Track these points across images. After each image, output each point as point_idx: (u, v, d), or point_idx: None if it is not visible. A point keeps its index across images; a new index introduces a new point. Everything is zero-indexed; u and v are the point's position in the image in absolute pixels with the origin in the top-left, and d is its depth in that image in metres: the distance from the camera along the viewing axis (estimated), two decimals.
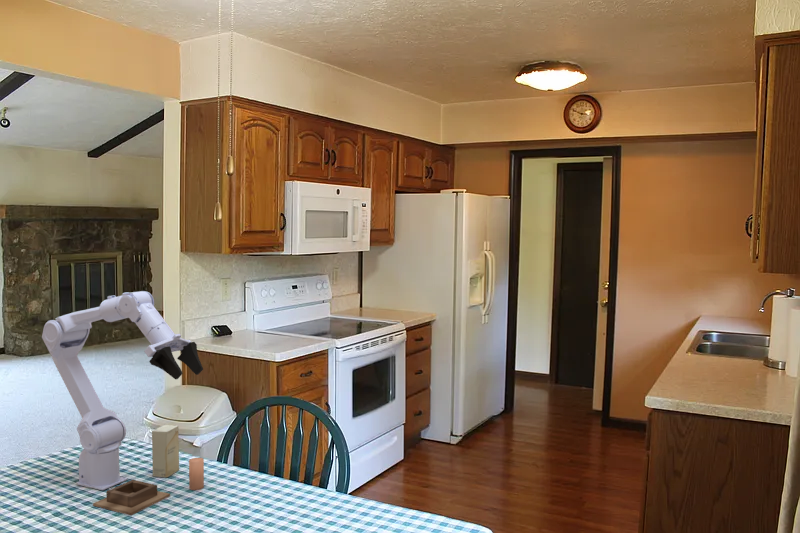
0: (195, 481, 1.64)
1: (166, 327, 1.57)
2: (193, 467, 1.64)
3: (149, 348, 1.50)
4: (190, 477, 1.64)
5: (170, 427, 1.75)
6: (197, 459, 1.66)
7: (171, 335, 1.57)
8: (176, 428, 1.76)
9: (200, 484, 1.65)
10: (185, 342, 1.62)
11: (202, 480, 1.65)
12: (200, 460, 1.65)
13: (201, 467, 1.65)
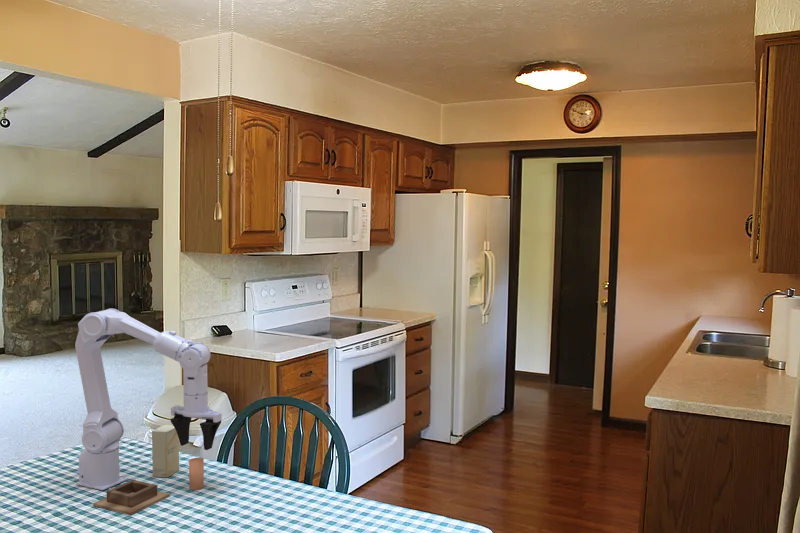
0: (195, 481, 1.64)
1: None
2: (193, 467, 1.64)
3: (220, 415, 1.62)
4: (190, 477, 1.64)
5: (170, 427, 1.75)
6: (197, 459, 1.66)
7: None
8: None
9: (200, 484, 1.65)
10: None
11: (202, 480, 1.65)
12: (200, 460, 1.65)
13: (201, 467, 1.65)
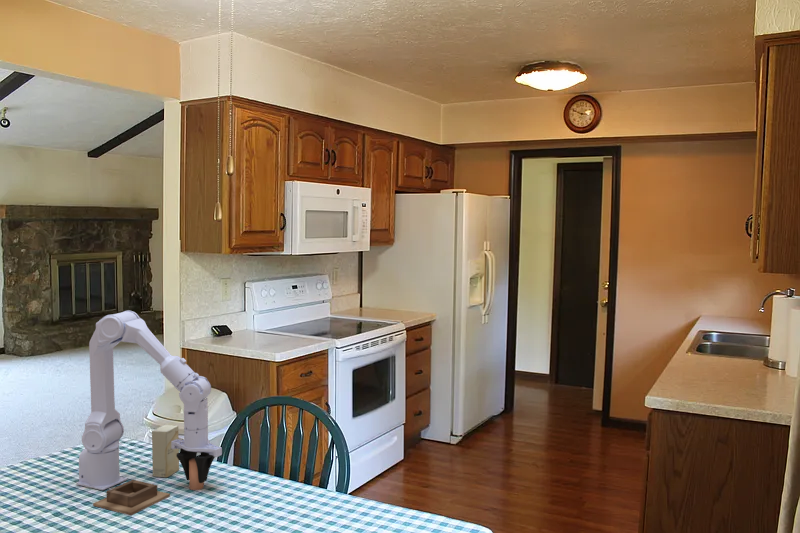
0: (195, 481, 1.64)
1: None
2: (193, 467, 1.64)
3: (221, 450, 1.63)
4: (190, 477, 1.64)
5: (170, 427, 1.75)
6: None
7: None
8: (176, 428, 1.76)
9: (200, 484, 1.65)
10: None
11: None
12: None
13: None
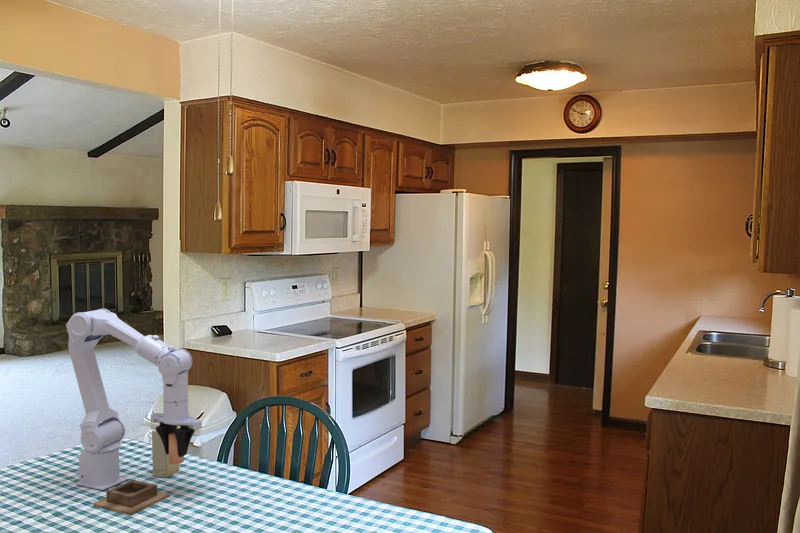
0: (175, 454, 1.61)
1: None
2: (173, 441, 1.61)
3: (201, 423, 1.60)
4: (170, 451, 1.61)
5: None
6: None
7: None
8: None
9: (180, 458, 1.62)
10: None
11: None
12: None
13: None
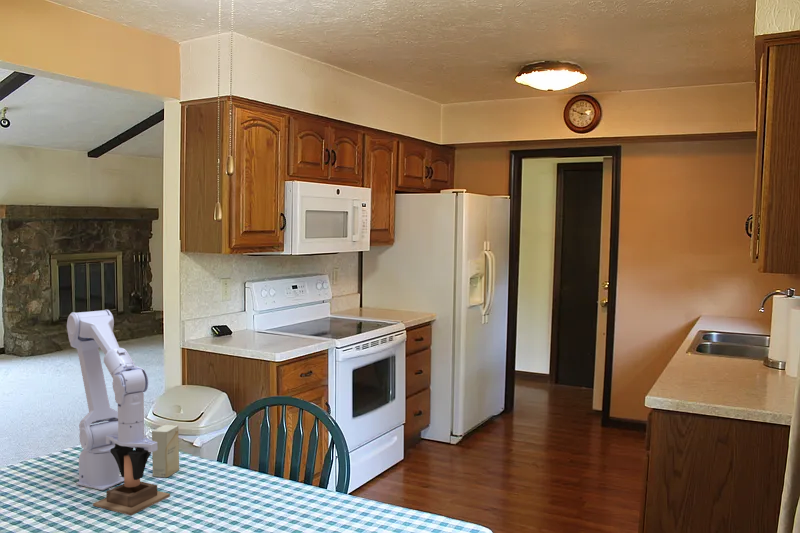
0: (130, 477, 1.55)
1: None
2: (128, 463, 1.55)
3: (156, 445, 1.54)
4: (125, 473, 1.56)
5: (170, 427, 1.75)
6: None
7: None
8: (176, 428, 1.76)
9: (135, 481, 1.56)
10: None
11: None
12: None
13: None
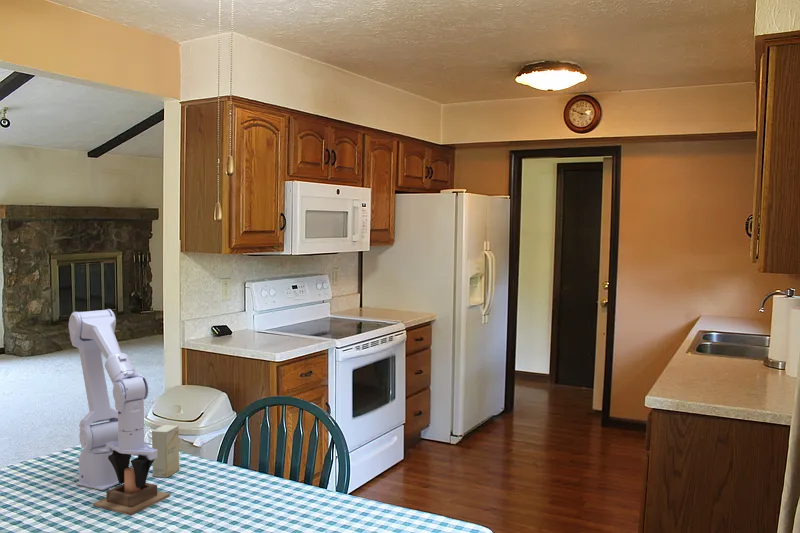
0: (130, 491, 1.56)
1: None
2: (128, 476, 1.55)
3: (156, 452, 1.54)
4: (125, 487, 1.56)
5: (170, 427, 1.75)
6: None
7: None
8: (176, 428, 1.76)
9: None
10: None
11: (138, 490, 1.57)
12: None
13: None
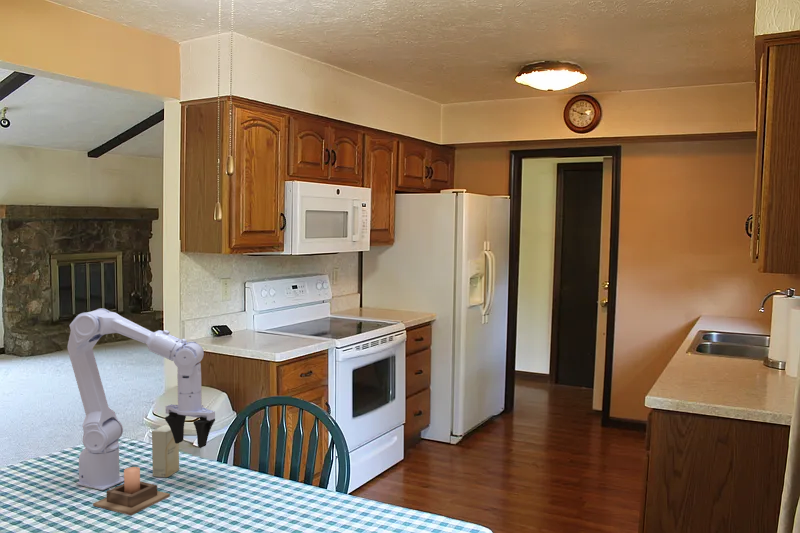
0: (130, 491, 1.56)
1: None
2: (128, 477, 1.55)
3: (214, 414, 1.64)
4: (125, 487, 1.56)
5: None
6: (133, 469, 1.57)
7: None
8: None
9: None
10: None
11: None
12: (136, 470, 1.57)
13: (137, 477, 1.56)
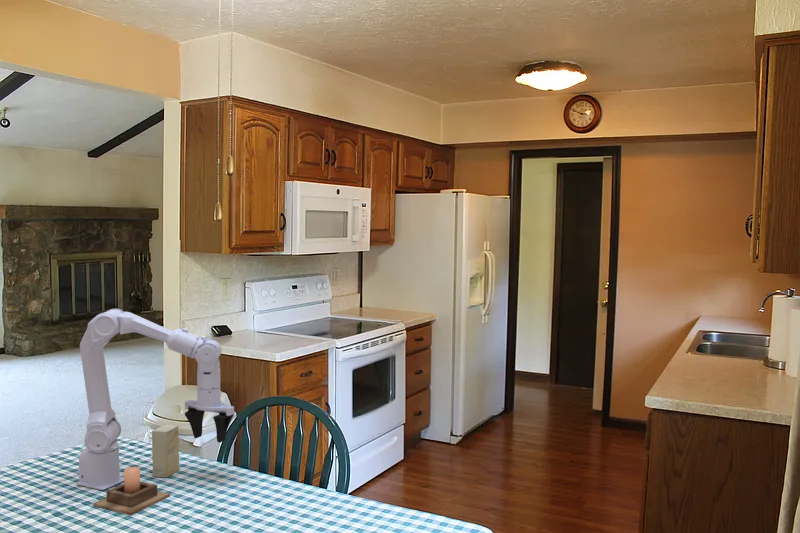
0: (130, 491, 1.56)
1: None
2: (128, 477, 1.55)
3: (233, 409, 1.68)
4: (125, 487, 1.56)
5: (170, 427, 1.75)
6: (133, 469, 1.57)
7: None
8: (176, 428, 1.76)
9: None
10: None
11: None
12: (136, 470, 1.57)
13: (137, 477, 1.56)
